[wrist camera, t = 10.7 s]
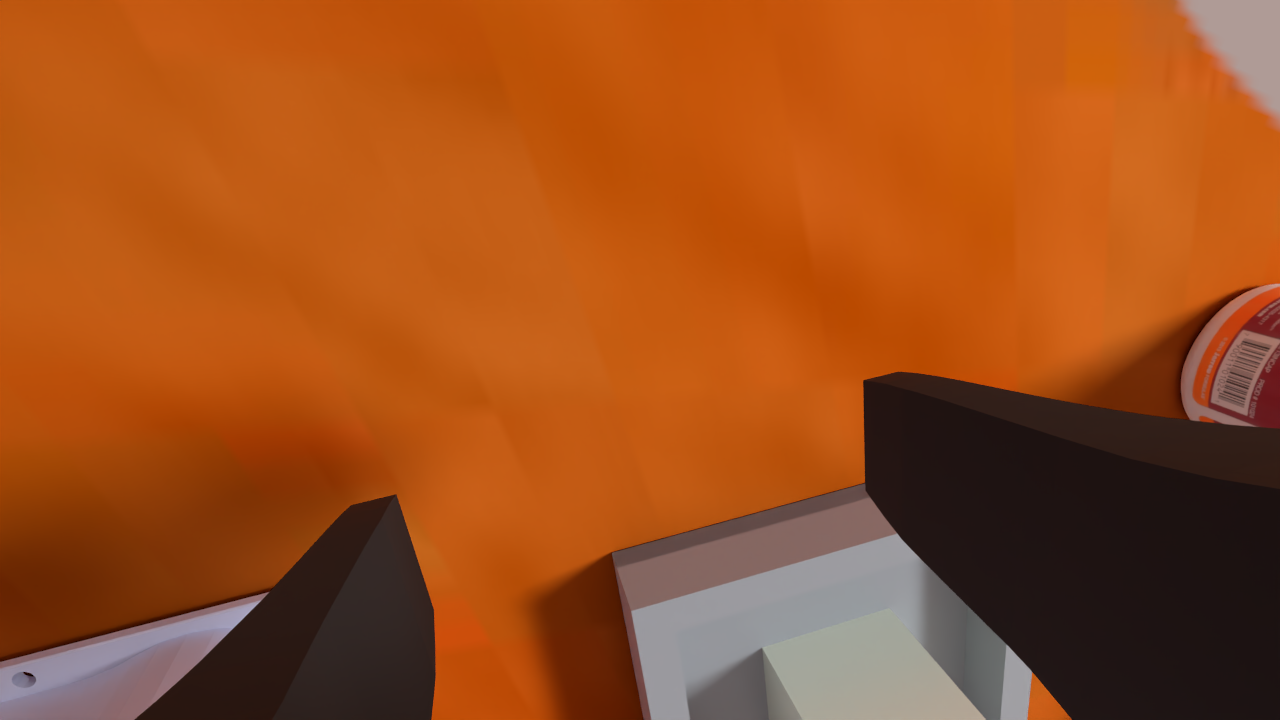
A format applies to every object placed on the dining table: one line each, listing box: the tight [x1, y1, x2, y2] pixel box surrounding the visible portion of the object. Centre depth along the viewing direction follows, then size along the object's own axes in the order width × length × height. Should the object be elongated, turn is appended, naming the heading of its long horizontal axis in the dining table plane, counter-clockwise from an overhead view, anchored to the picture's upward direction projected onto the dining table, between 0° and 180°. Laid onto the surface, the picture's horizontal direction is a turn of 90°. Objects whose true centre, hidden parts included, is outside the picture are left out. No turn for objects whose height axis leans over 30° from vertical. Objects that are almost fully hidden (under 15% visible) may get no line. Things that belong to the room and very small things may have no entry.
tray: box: [612, 484, 1032, 720], centre depth 24 cm, size 14×16×3 cm
